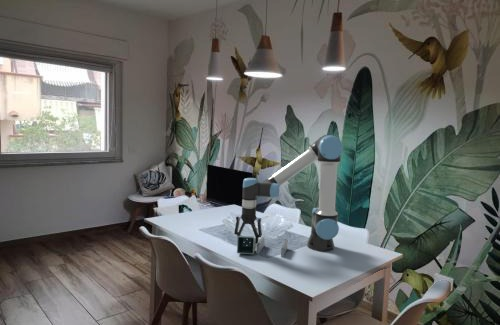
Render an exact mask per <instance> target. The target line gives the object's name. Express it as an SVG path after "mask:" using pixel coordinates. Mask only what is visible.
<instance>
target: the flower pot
mask: <svg viewBox="0 0 500 325" xmlns="http://www.w3.org/2000/svg"><path fill="white" fill-rule="evenodd" d="M237 237H238V238H236V239H237V243H236V244H237V246H236V253H237V254H241V255H242V254H245V255H254V238H255V236H252V235H251V236H250V235H249V236H248V235H247V236H246V235H242V236H237Z"/></svg>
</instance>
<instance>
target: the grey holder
mask: <svg viewBox="0 0 500 325" xmlns="http://www.w3.org/2000/svg"><path fill="white" fill-rule="evenodd" d="M260 238H261V239H259V240H258V243H257V244H256V249H255V250H256V251H255V254H256V255H259V254H260V253H261V252H262V250H263V248H264V247H265V236H261V237H260ZM280 250H281V251H280V258H284V257H285V255H286V252H287V250H288V239H285V241H284V242H283V244H282V245H281V249H280Z"/></svg>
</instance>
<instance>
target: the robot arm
mask: <svg viewBox="0 0 500 325" xmlns="http://www.w3.org/2000/svg"><path fill="white" fill-rule="evenodd" d="M343 149H344V145H343V142H342V141H341V140H340V138H339V137H337V136H336V135H331V134H323V135H322V136H320V137H318V139H317V140H316V141H314V142H313V143H312V144H311V145H309V146H308V148H307V150H305V151H304V152H302V153H301V154H300V155H299V156H297V157H296V158H294V159H293V160H291V161H290V162H289V163H288V164H286V165H285V166H283V167H282V168H280V169H279V170H278V171H276V172H275V173H273V174H272V175H271V176H269V177H267V178H265V179H263V181H262V182H259V181H258V179H257V178H256V177H255V178H254V177H247V178H244V179H243V181H242V200H241V202H242V203H241V206H242V207H241V215H237V216H236V217H235V221H236V222H235V228H234V232H233V234H234V235H236V236H237V238H238V236H243V235H242V233H243V230H244V228H245V227H246V225H249V226H251V228H252V231H253V234H254V250H257V244H258V242H259V238H262V237H263V232H262V224H261V222H262V218H259V217H257V208H256V207H257V197H258V198H259V197H261V198H279V196H280V187H281V186H282V185H283V184H285V183H287V182H288V181H290V179H292V178H293V177H295V176H296V175H298V174H299V173H301V172H302V171H303V170H305V169H306V168H307V167H309V166H310V165H312V164H313V163H314V162H316V161H317V162H318V163H319V164H320V168H319V169H320V170H319V171H320V172H319V186H318V187H319V189H318V190H319V191H318V192H319V193H318V207H313V208H312V212H311V228H310V229H311V230H310V235H309V238H308V240H307V246H306V247H307V248H308V249H310V250H312V251H315V252H316V251H317V252H322V253H323V252H325V253H326V252H327V253H328V252H332V251H334V250H335V243H334V238H335V237H336V236H337V235H338V234H339V230H340V227H339V224H338V217H339V213H338V212H337V211H336V200H337V199H336V197H337V179H338V178H337V176H338V165H339V164H340V163H341V160H342V158H341V156H342V154H343V151H344V150H343ZM241 220H242V223H241V225H240V221H241ZM255 222H256V223H257V227H256V223H255ZM239 226H240V228H239ZM237 238H236V239H237Z"/></svg>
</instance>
